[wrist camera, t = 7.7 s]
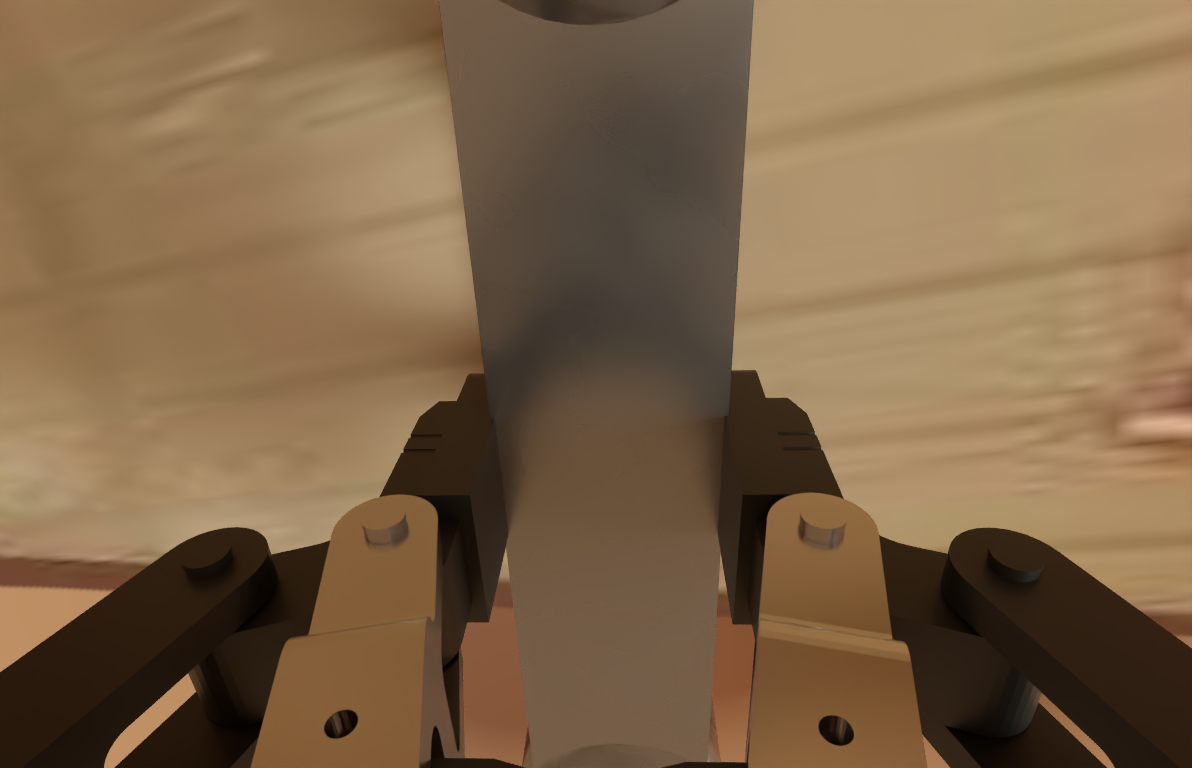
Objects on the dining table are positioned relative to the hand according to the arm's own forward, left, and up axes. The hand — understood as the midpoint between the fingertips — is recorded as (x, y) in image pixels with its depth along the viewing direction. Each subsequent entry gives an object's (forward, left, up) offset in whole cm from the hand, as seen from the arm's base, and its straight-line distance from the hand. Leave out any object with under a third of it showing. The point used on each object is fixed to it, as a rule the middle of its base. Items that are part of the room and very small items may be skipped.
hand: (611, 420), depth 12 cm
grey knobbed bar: (0, 0, -1) cm, 1 cm away
